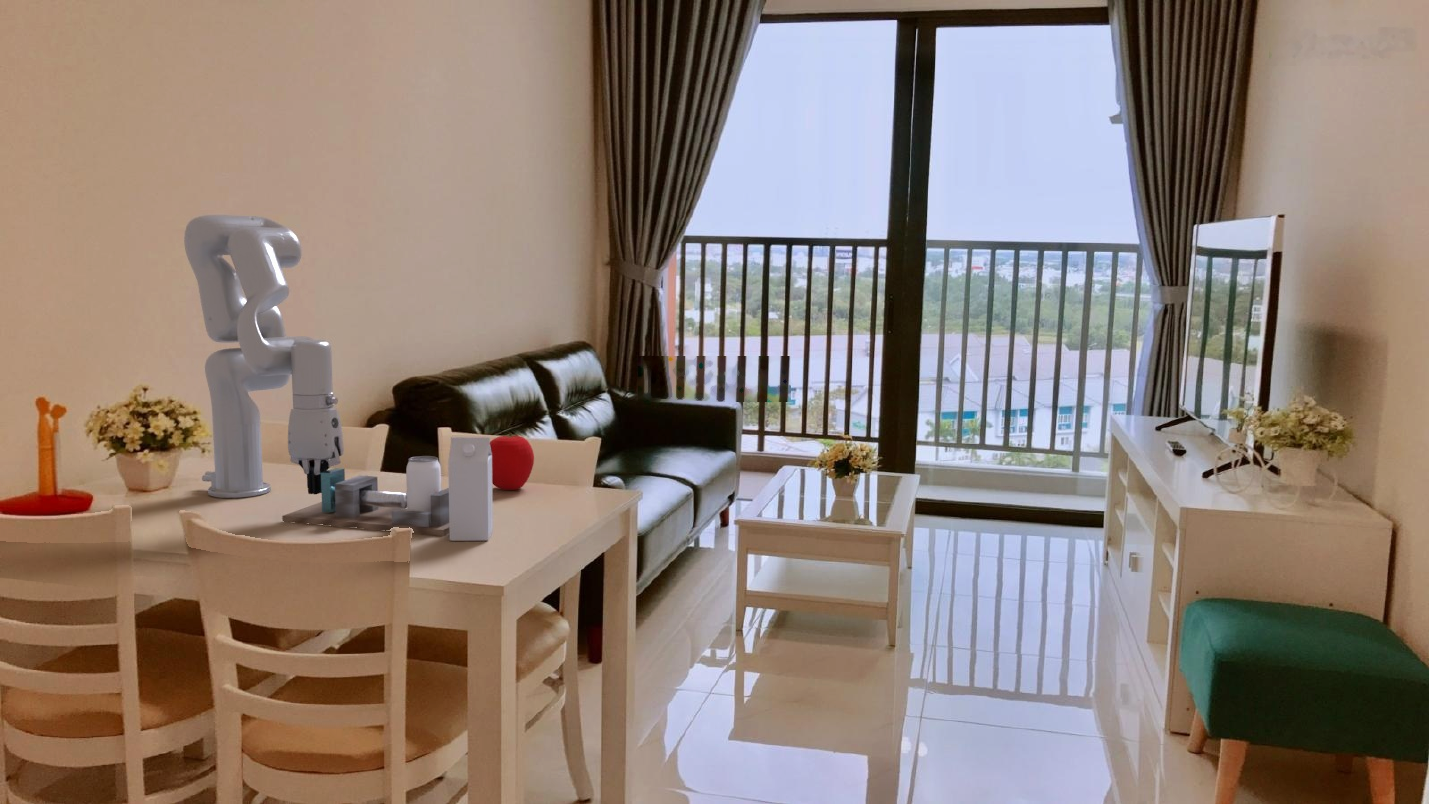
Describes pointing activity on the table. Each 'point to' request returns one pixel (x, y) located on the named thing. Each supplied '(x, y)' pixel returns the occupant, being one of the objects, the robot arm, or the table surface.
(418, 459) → the can
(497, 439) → the tomato
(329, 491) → the shaft
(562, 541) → the table surface
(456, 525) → the milk carton
